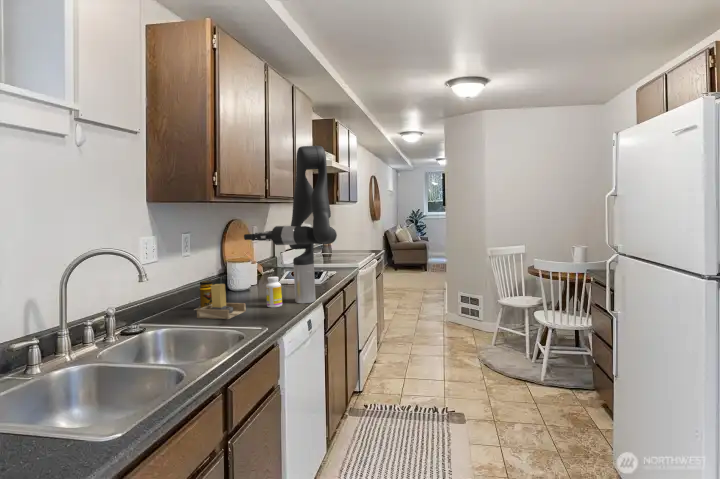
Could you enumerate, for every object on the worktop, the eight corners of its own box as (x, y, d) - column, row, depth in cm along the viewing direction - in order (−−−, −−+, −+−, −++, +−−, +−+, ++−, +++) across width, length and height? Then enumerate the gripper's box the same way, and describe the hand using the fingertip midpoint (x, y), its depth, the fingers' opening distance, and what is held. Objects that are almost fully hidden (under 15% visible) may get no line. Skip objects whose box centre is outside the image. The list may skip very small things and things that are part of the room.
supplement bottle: (284, 304, 214) (283, 276, 213) (278, 308, 208) (276, 278, 207) (271, 304, 216) (269, 276, 215) (264, 307, 210) (262, 278, 209)
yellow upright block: (218, 312, 202) (216, 283, 201) (226, 312, 201) (225, 283, 200) (212, 314, 198) (210, 285, 197) (221, 314, 197) (219, 285, 196)
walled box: (216, 310, 208) (216, 302, 207) (245, 311, 204) (245, 303, 203) (197, 318, 194) (196, 309, 194) (227, 319, 190) (227, 310, 190)
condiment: (212, 309, 210) (210, 282, 209) (193, 310, 210) (191, 283, 209) (218, 306, 217) (216, 279, 216) (199, 306, 218) (198, 280, 217)
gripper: (293, 225, 198) (257, 226, 202) (278, 227, 184) (240, 228, 189) (294, 243, 198) (258, 243, 203) (279, 246, 185) (241, 247, 189)
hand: (249, 236), depth 196 cm, fingers open, 8 cm apart
